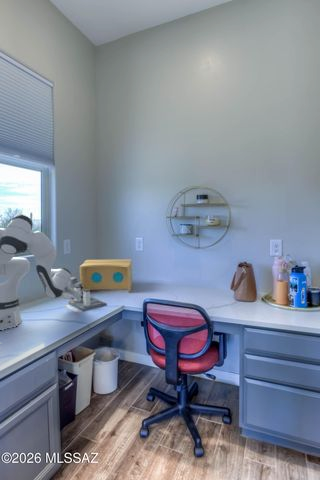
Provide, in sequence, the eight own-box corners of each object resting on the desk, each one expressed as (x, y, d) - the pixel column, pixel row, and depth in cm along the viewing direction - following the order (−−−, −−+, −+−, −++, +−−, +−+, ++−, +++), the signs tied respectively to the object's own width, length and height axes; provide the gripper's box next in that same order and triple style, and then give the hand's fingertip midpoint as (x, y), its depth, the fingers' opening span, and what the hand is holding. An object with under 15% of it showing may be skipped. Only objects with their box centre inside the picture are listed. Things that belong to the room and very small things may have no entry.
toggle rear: (76, 302, 194) (76, 287, 193) (74, 300, 197) (73, 286, 196) (81, 301, 196) (80, 286, 195) (78, 299, 199) (77, 285, 198)
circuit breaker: (80, 299, 207) (79, 279, 206) (63, 298, 210) (62, 279, 209) (84, 296, 214) (84, 277, 213) (68, 295, 217) (67, 277, 216)
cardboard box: (131, 285, 248) (131, 259, 246) (129, 293, 222) (129, 264, 220) (87, 286, 247) (86, 259, 245) (80, 294, 221) (79, 264, 219)
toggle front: (86, 306, 184) (85, 290, 183) (83, 305, 187) (82, 289, 186) (90, 305, 186) (90, 289, 185) (87, 304, 189) (87, 288, 188)
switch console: (76, 312, 177) (76, 308, 177) (62, 305, 193) (62, 301, 193) (106, 305, 192) (106, 301, 192) (91, 298, 208) (91, 295, 208)
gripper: (73, 285, 166) (88, 297, 174) (60, 280, 182) (74, 291, 189) (66, 293, 164) (82, 306, 171) (53, 287, 179) (68, 299, 186)
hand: (78, 298), depth 180 cm, fingers closed
